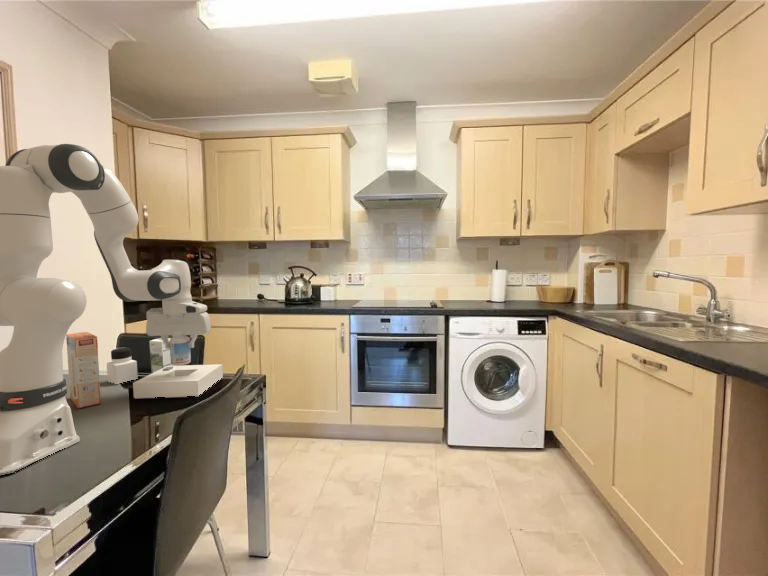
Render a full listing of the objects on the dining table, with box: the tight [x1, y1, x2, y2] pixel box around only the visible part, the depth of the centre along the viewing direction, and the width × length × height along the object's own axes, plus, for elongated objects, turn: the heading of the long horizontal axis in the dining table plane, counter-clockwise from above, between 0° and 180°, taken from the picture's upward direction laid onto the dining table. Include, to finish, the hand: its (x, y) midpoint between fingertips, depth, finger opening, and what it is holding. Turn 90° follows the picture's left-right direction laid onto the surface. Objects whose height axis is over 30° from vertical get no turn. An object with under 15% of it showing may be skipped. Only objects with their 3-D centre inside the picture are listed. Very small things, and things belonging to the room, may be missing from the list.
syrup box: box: [148, 337, 176, 374], centre depth 141 cm, size 6×6×14 cm
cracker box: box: [65, 331, 101, 409], centre depth 117 cm, size 14×6×21 cm, turn 47°
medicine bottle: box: [106, 347, 139, 385], centre depth 138 cm, size 7×7×12 cm
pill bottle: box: [170, 332, 192, 366], centre depth 128 cm, size 6×6×11 cm
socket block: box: [132, 363, 224, 399], centre depth 129 cm, size 20×20×6 cm
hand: (180, 347), depth 128 cm, fingers closed on pill bottle, 6 cm apart
